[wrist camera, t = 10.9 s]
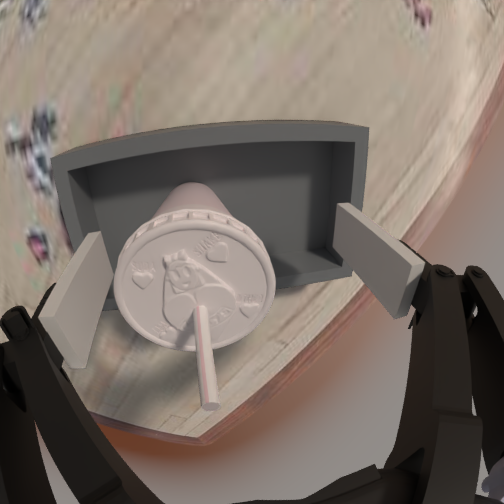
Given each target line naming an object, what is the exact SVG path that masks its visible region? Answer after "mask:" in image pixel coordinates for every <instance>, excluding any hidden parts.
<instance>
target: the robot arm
mask: <svg viewBox="0 0 504 504" xmlns="http://www.w3.org/2000/svg"><path fill="white" fill-rule="evenodd" d="M333 248H334V249H335V250H336V251H337V252H338V253H339V255H340V256H341V257H342V258H343V259H344V260H345V261H346V262H347V264H348V265H349V266H350V267H351V268H352V269H353V270H354V272H355V273H356V274H357V275H358V276H359V277H360V279H361V280H362V281H363V282H364V283H365V284H366V286H367V287H368V288H369V289H370V290H371V292H372V293H373V294H374V295H375V296H376V298H377V299H378V300H379V301H380V302H381V304H382V305H383V306H384V307H385V308H386V310H387V311H388V312H389V313H390V315H391V316H392V317H393V318H394V319H397V318H400V317H403V316H406V315H407V314H408V312H409V309H410V306H411V305H412V306H413V307H414V308H415V309H416V310H415V313H414V315H413V317H412V320H411V322H410V325H409V327H408V329H410V328H411V326H412V325H413V329H412V343H411V354H410V363H409V372H408V379H407V387H406V392H405V398H404V404H403V409H402V415H401V420H400V424H399V429H398V433H397V437H396V441H395V445H394V448H393V450H392V452H391V454H390V455H389V457H388V459H387V461H386V463H385V465H384V468H383V469H377V468H376V465H375V464H373V465H371V466H369V467H366V468H364V469H361V470H359V471H357V472H354V473H352V474H349V475H346V476H344V477H341V478H339V479H338V480H336V481H334V482H333V483H331V484H329V485H328V486H326V487H324V488H323V489H321V490H319V491H317V492H316V493H314V494H312V495H310V496H308V497H306V498H304V499H300V500H254V501H248V502H240V503H233V504H504V300H503V298H502V297H501V295H500V293H499V291H498V290H497V288H496V287H495V285H494V284H493V282H492V281H491V279H490V277H489V276H488V275H487V273H486V272H485V271H484V270H482V269H481V268H480V267H478V266H468V267H466V271H465V273H464V275H456V274H455V273H454V271H453V270H452V269H450V268H448V267H446V266H443V265H438V264H437V265H433V266H432V265H431V264H430V263H428V262H427V261H426V260H425V259H424V258H423V257H422V256H420V255H419V254H418V253H416V251H414V250H413V249H411V247H409V246H408V245H407V244H406V243H405V242H403V241H401V240H398V239H396V238H395V237H394V236H392V235H391V234H390V233H389V232H387V231H386V230H385V229H383V228H382V227H381V226H380V225H378V224H377V223H376V222H374V221H373V220H372V219H370V218H369V217H368V216H366V215H365V214H364V213H362V212H361V211H360V210H358V209H357V208H355V207H354V206H353V205H351V204H350V203H337V209H336V220H335V230H334V239H333ZM113 276H114V274H113V271H112V268H111V265H110V261H109V258H108V255H107V252H106V248H105V245H104V241H103V238H102V234H101V231H98V232H92V233H88V234H87V236H86V237H85V239H84V240H83V242H82V243H81V245H80V246H79V248H78V249H77V251H76V252H75V254H74V255H73V257H72V259H71V260H70V262H69V263H68V265H67V266H66V268H65V270H64V271H63V273H62V275H61V276H60V278H59V280H58V282H57V283H54V284H53V285H52V286H51V287H50V288H49V289H48V290H47V291H46V293H45V294H44V296H43V299H42V300H41V302H40V303H39V304H40V305H38V307H37V309H36V311H35V313H34V315H33V316H32V318H30V316H29V315H28V313H27V311H26V309H25V308H24V307H23V306H15V307H13V308H11V309H9V310H8V311H7V312H6V313H5V314H4V315H3V316H2V318H1V320H0V327H1V328H2V330H3V332H4V333H5V335H6V336H7V338H8V339H9V341H8V342H5V343H1V344H0V504H57V503H56V500H55V498H54V495H53V492H52V489H51V486H50V483H49V480H48V477H47V473H46V470H45V466H44V463H43V459H42V455H41V451H40V446H39V442H38V437H37V432H36V427H35V422H36V425H37V427H38V429H39V431H40V434H41V436H42V438H43V440H44V442H45V444H46V447H47V449H48V451H49V453H50V454H51V457H52V458H53V460H54V462H55V464H56V466H57V468H58V469H59V471H60V473H61V475H62V476H63V478H64V480H65V481H66V483H67V485H68V486H69V488H70V489H71V491H72V492H73V494H74V496H75V497H76V499H77V500H78V502H79V503H80V504H165V503H163V502H162V501H161V500H160V499H159V498H158V497H156V495H155V494H154V493H153V492H152V491H151V490H150V489H149V488H148V487H147V486H146V485H145V484H144V483H143V482H142V481H141V480H140V479H139V478H138V476H136V474H135V473H134V472H133V471H132V470H131V469H130V467H129V466H128V465H127V464H126V462H125V461H124V460H123V459H122V458H121V456H120V455H119V454H118V453H117V451H116V450H115V449H114V447H113V446H112V445H111V444H110V442H109V441H108V439H107V438H106V437H105V435H104V434H103V433H102V431H101V430H100V428H99V427H98V425H97V424H96V422H95V421H94V419H93V418H92V416H91V415H90V413H89V412H88V410H87V409H86V407H85V405H84V404H83V402H82V401H81V399H80V397H79V396H78V394H77V392H76V390H75V389H74V387H73V385H72V383H71V381H70V380H69V378H68V376H67V374H66V372H65V371H64V369H63V368H62V367H61V366H62V363H63V360H65V361H66V363H67V364H68V366H69V367H70V368H80V369H86V365H87V361H88V357H89V353H90V349H91V345H92V342H93V338H94V334H95V331H96V328H97V324H98V321H99V318H100V315H101V311H102V308H103V305H104V302H105V299H106V296H107V293H108V290H109V287H110V285H111V282H112V279H113ZM476 306H477V309H478V312H477V315H476V317H474V315H473V312H474V310H475V308H476ZM472 396H473V400H474V405H475V409H476V415H477V416H474V415H473V414H472ZM34 420H35V421H34ZM481 449H482V451H483V457H484V461H485V465H486V469H487V471H488V474H489V476H488V477H486V478H485V479H484V480H483V482H482V490H483V491H484V492H489V495H488V497H484V496H481V495H477V494H475V493H476V487H477V482H478V475H479V468H480V460H481Z"/></svg>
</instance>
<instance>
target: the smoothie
mask: <svg viewBox="0 0 504 504" xmlns="http://www.w3.org/2000/svg"><path fill="white" fill-rule="evenodd" d="M275 289H276V281H275V274H274V269H273V267H272V264H271V262H270V257H269V255H268V253H267V251H266V248H265V246H264V244H263V242H262V241H261V240H260V239H259V237H258V236H257V235H256V234H255V233H254V232H253V231H252V230H251V229H250V228H249V227H248V226H247V225H245V224H243V223H242V222H240V221H238V220H237V219H235V218H234V217H233V216H232V215H231V214H230V212H229V211H228V210H227V209H226V207H225V206H224V205H223V203H222V202H221V201H220V200H219V198H218V197H217V196H216V194H215V193H214V192H213V191H212V190H211V189H210V188H209V187H208V186H206V185H204V184H201V183H197V182H187V183H183V184H181V185H179V186H177V187H176V188H174V189H173V190H172V191H171V192H170V194H169V195H168V196H167V198H166V199H165V201H164V202H163V203H162V205H161V206H160V207H159V209H158V210H157V212H156V213H155V214H154V216H153V217H152V219H151V220H150V221H148V222H146V223H144V224H142V225H141V226H140V227H139V228H138V229H137V230H136V231H135V232H134V233H133V234H132V235H131V236H130V237H129V238H128V239H127V241H126V243H125V245H124V247H123V249H122V251H121V253H120V255H119V257H118V263H117V268H116V271H115V275H114V295H115V300H116V303H117V306H118V308H119V310H120V312H121V314H122V316H123V317H124V319H125V320H126V321H127V323H128V324H129V325H130V326H131V327H132V328H133V329H134V330H135V331H136V332H138V333H139V334H140V335H142V336H143V337H144V338H146V339H148V340H149V341H151V342H153V343H155V344H158V345H160V346H163V347H166V348H170V349H174V350H180V351H193V352H196V360H197V371H198V382H199V391H200V401H201V408H202V409H203V410H205V411H215V410H218V409H219V408H220V407H221V403H220V397H219V391H218V385H217V378H216V371H215V365H214V357H213V349H217V348H222V347H224V346H227V345H230V344H232V343H234V342H236V341H238V340H240V339H242V338H243V337H245V336H246V335H248V334H249V333H250V332H252V331H253V330H254V329H255V328H256V327H257V326H258V325H259V324H260V323H261V322H262V321H263V319H264V318H265V316H266V315H267V313H268V312H269V310H270V308H271V305H272V303H273V300H274V296H275Z"/></svg>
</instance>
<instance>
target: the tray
mask: <svg viewBox="0 0 504 504" xmlns="http://www.w3.org/2000/svg"><path fill="white" fill-rule="evenodd" d="M368 140H369V127H364V126H359V125H354V124H349V123H343V122H335V121H314V120H256V121H235V122H221V123H209V124H199V125H190V126H182V127H174V128H167V129H160V130H154V131H148V132H142V133H136V134H131V135H126V136H121V137H116V138H112V139H107V140H103V141H99V142H94V143H90V144H86V145H83V146H79V147H75V148H73V149H71V150H68V151H66V152H64V153H61V154H59V155H57V156H55V157H53V158H50V159H51V164H52V169H53V175H54V179H55V184H56V189H57V193H58V197H59V201H60V205H61V209H62V213H63V217H64V220H65V224H66V227H67V230H68V234H69V237H70V240H71V243H72V246H73V249H74V252H76V251H77V249H78V248H79V246H80V245H81V243H82V242H83V240H84V239H85V237H86V236H87V234H88V233H92V232H98V231H101V234H102V238H103V241H104V245H105V248H106V252H107V255H108V258H109V261H110V265H111V268H112V271H113V274H114V275H115V271H116V268H117V263H118V257H119V255H120V253H121V251H122V249H123V247H124V245H125V243H126V241H127V239H128V238H129V237H130V236H131V235H132V234H133V233H134V232H135V231H136V230H137V229H138V228H139V227H140V226H141V225H142V224H144V223H146V222H148V221H150V220H151V219H152V217H153V216H154V214H155V213H156V212H157V210H158V209H159V207H160V206H161V205H162V203H163V202H164V201H165V199H166V198H167V196H168V195H169V194H170V192H171V191H172V190H173V189H174V188H176V187H177V186H179V185H181V184H183V183H187V182H197V183H201V184H204V185H206V186H208V187H209V188H210V189H211V190H212V191H213V192H214V193H215V194H216V196H217V197H218V198H219V200H220V201H221V202H222V203H223V205H224V206H225V207H226V209H227V210H228V211H229V212H230V214H231V215H232V216H233V217H234V218H235V219H237V220H238V221H240V222H242V223H243V224H245V225H247V226H248V227H249V228H250V229H251V230H252V231H253V232H254V233H255V234H256V235H257V236H258V237H259V239H260V240H261V241H262V242H263V244H264V246H265V248H266V251H267V253H268V255H269V257H270V262H271V264H272V267H273V269H274V274H275V281H276V289H282V288H288V287H294V286H300V285H306V284H312V283H317V282H323V281H329V280H334V279H339V278H345V277H350V276H352V271H353V269H352V268H351V267H350V266H349V265H348V264H347V262H346V261H345V260H344V259H343V258H342V257H341V256H340V255H339V253H338V252H337V251H336V250H335V249H334V248H333V239H334V230H335V220H336V209H337V203H350V204H351V205H353V206H354V207H355V208H357V209H358V210H360V211H361V212H362V207H363V198H364V189H365V179H366V168H367V156H368ZM117 309H119V308H118V306H117V303H116V300H115V295H114V276H113V279H112V282H111V285H110V287H109V290H108V293H107V296H106V299H105V302H104V305H103V308H102V311H106V310H117Z"/></svg>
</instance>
